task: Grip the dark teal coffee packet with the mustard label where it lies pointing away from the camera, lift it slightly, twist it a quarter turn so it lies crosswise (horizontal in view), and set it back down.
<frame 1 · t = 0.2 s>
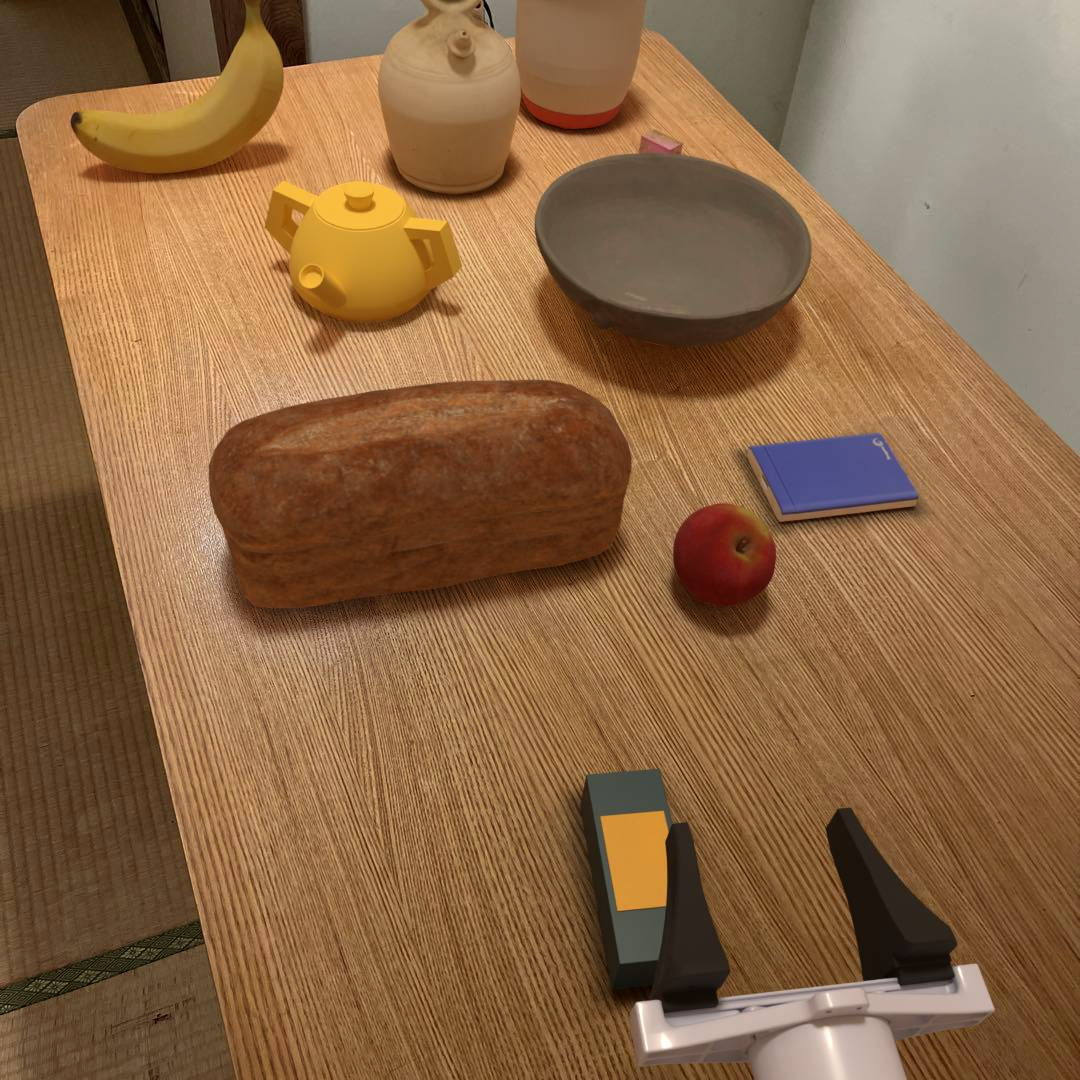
hand: (758, 824, 49), 20 cm above the table, tool horizontal, fingers open, 7 cm apart
citrus juicer: (566, 107, 136), on the table
teapot: (356, 300, 106), on the table
perfume bottle: (675, 186, 125), on the table
bread: (426, 542, 86), on the table
banana: (191, 167, 121), on the table
apple: (713, 590, 84), on the table
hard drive: (828, 483, 93), on the table
jug: (449, 169, 124), on the table
bowl: (658, 312, 109), on the table
packet: (651, 985, 63), on the table
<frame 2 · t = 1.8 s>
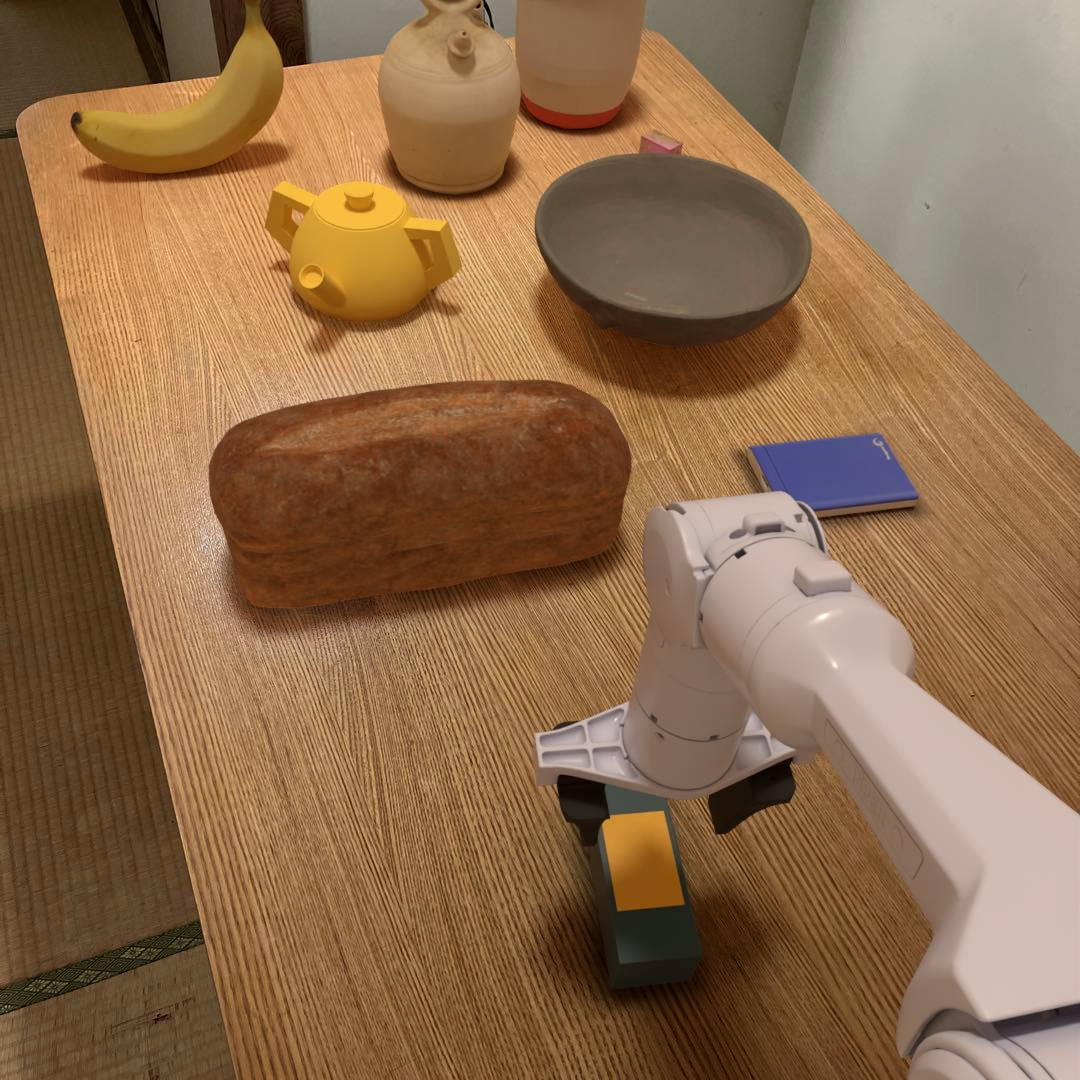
hand: (652, 824, 61), 8 cm above the table, tool pointing down, fingers open, 7 cm apart
nothing on the table moved.
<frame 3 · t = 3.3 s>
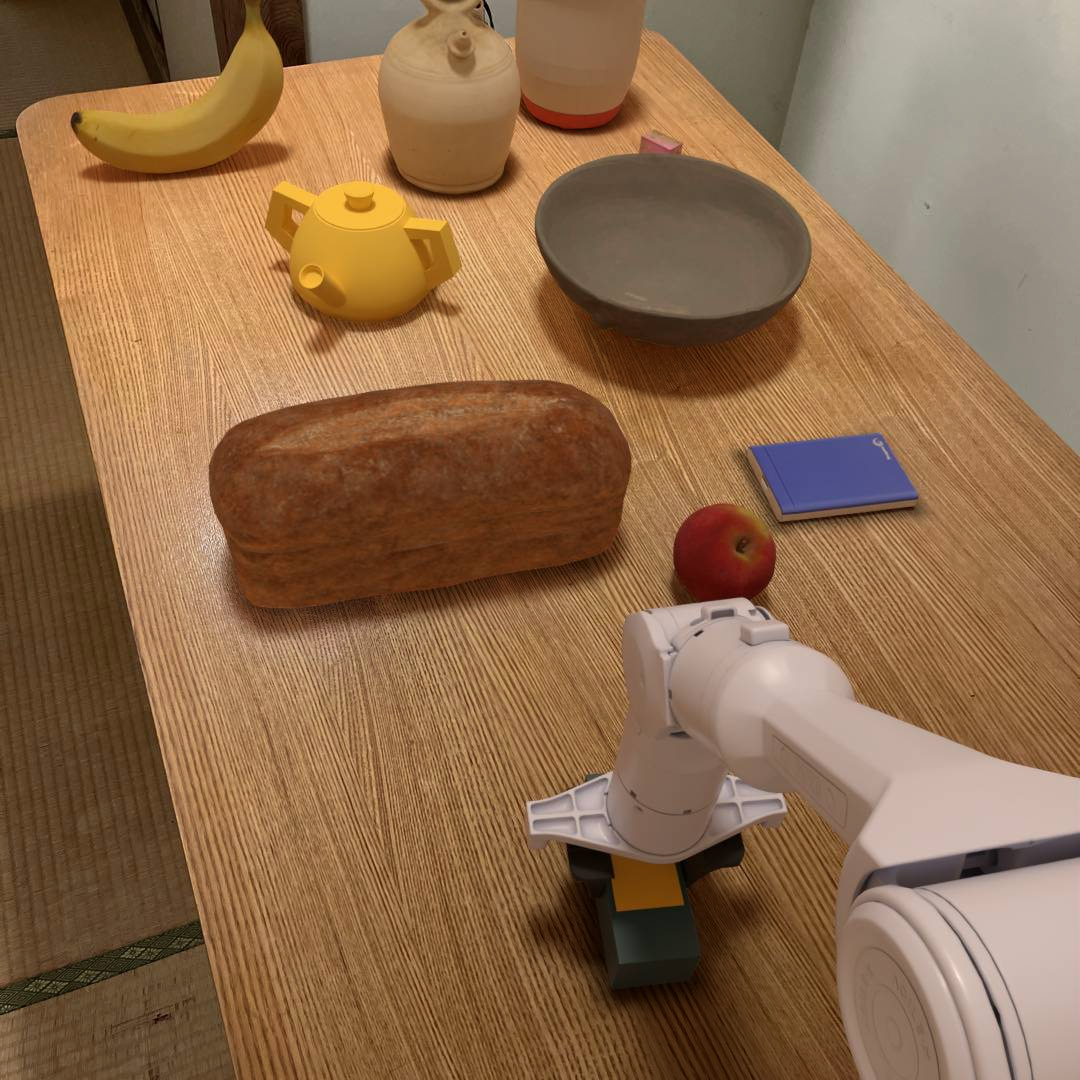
hand: (635, 878, 66), 1 cm above the table, tool pointing down, fingers closed on packet, 5 cm apart
packet: (650, 985, 63), on the table, touching gripper
everything else where it was.
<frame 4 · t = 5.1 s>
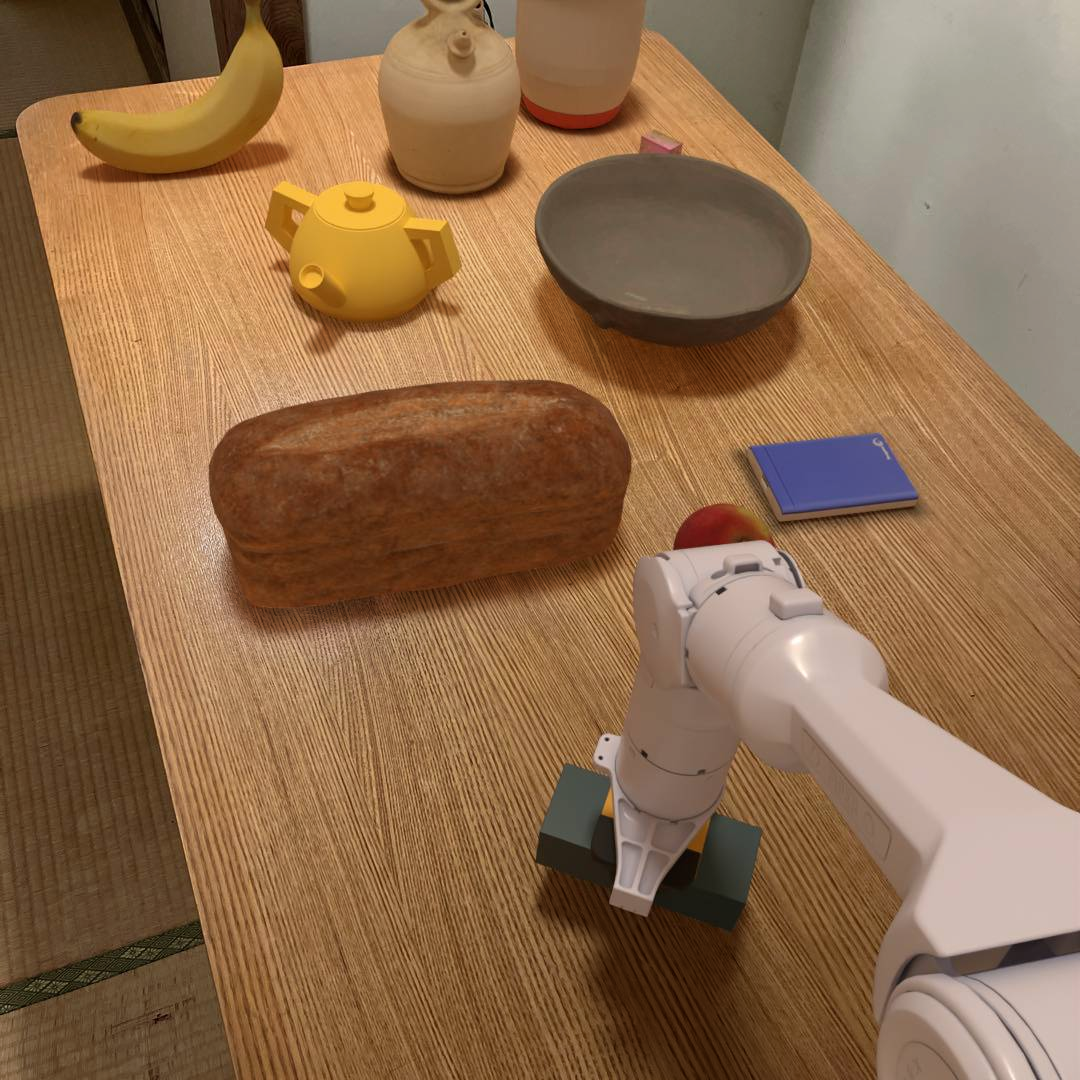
hand: (644, 849, 63), 5 cm above the table, tool pointing down, fingers closed on packet, 5 cm apart
packet: (740, 895, 63), point 4 cm above the table, touching gripper
everything else where it was.
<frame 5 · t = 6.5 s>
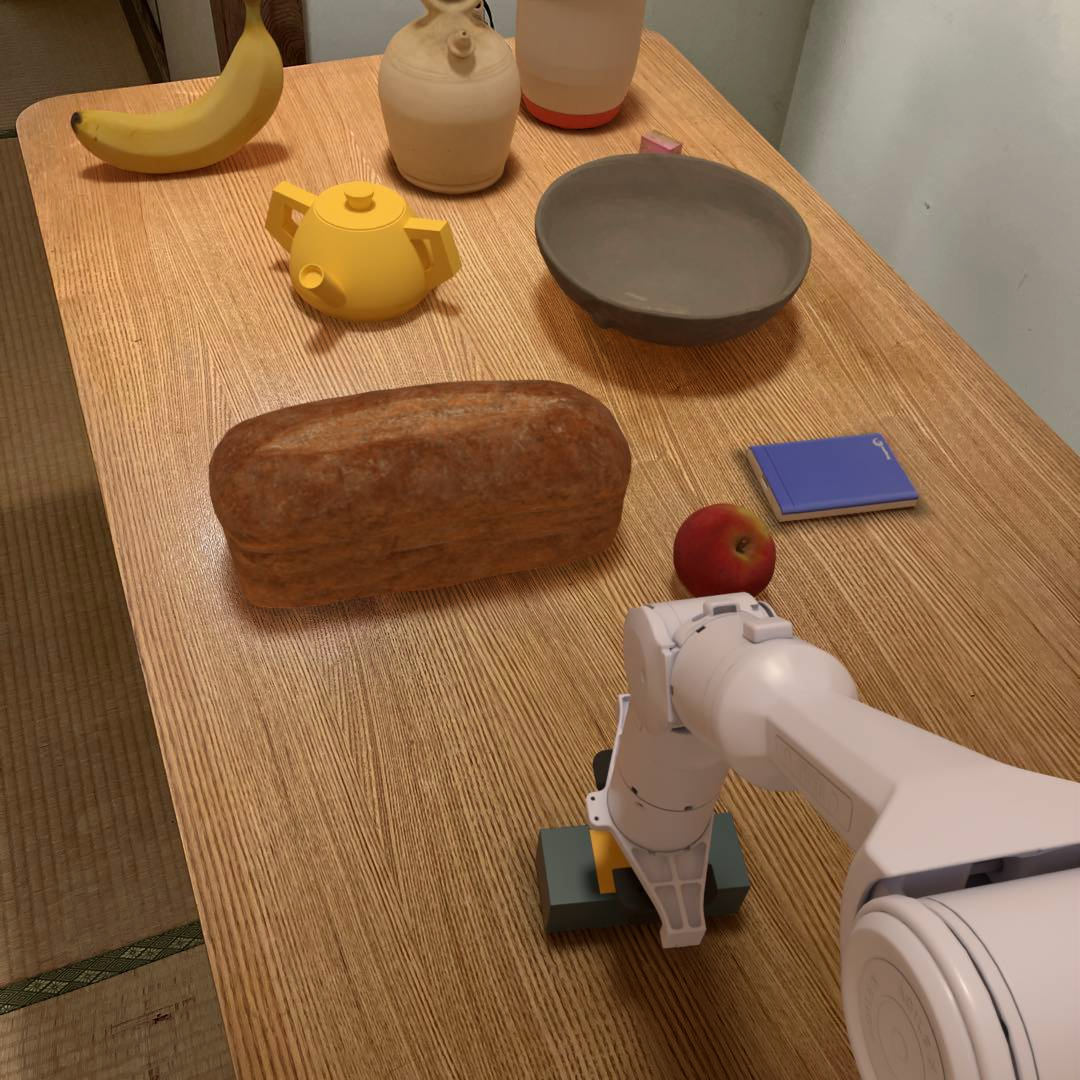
hand: (636, 875, 66), 2 cm above the table, tool pointing down, fingers closed on packet, 5 cm apart
packet: (728, 876, 68), on the table, touching gripper
everything else where it was.
when the fingers open (1 cm above the table, at t = 7.1 s): packet stays where it is, on the table.
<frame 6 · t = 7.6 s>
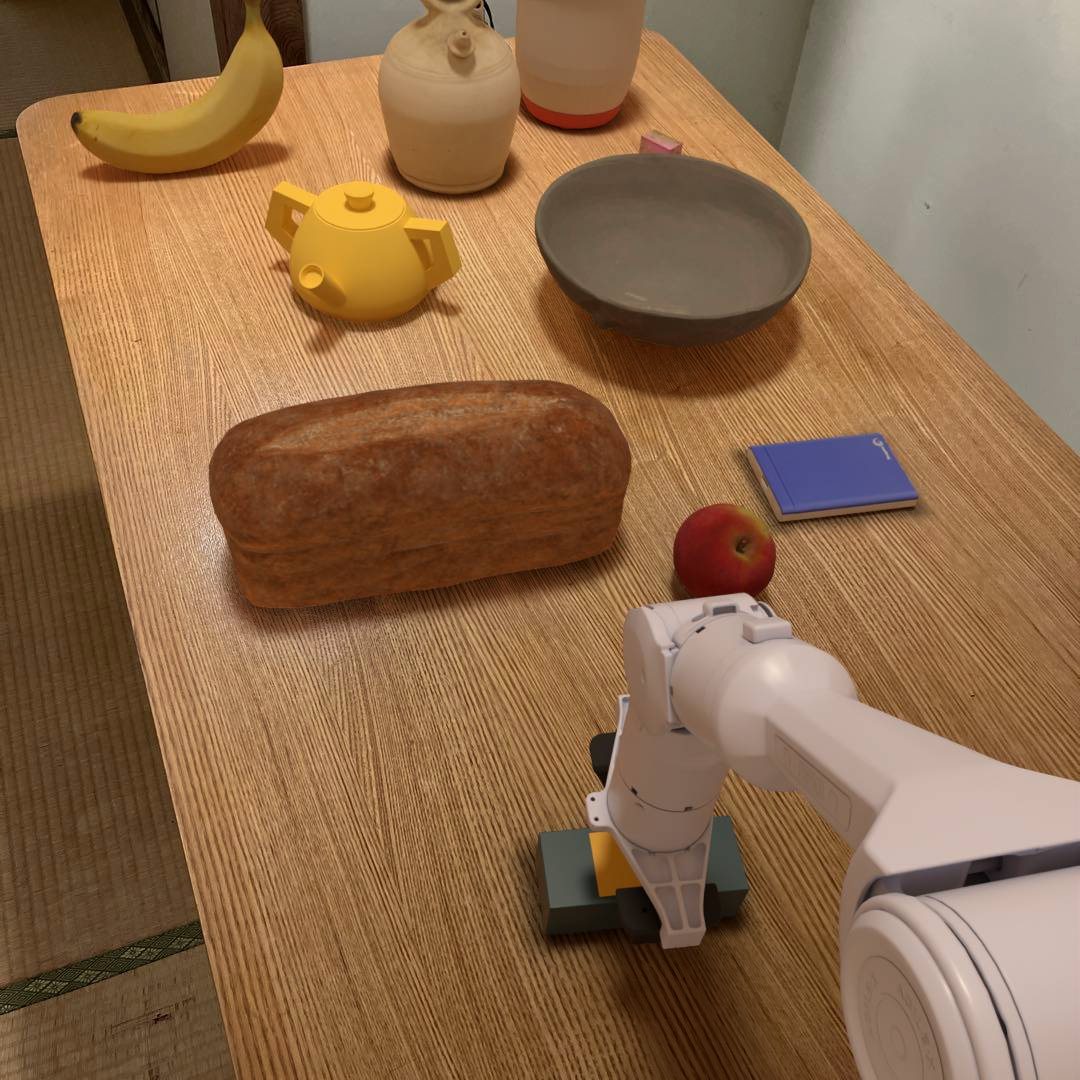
hand: (636, 876, 66), 2 cm above the table, tool pointing down, fingers open, 7 cm apart
packet: (726, 879, 68), on the table
everything else where it was.
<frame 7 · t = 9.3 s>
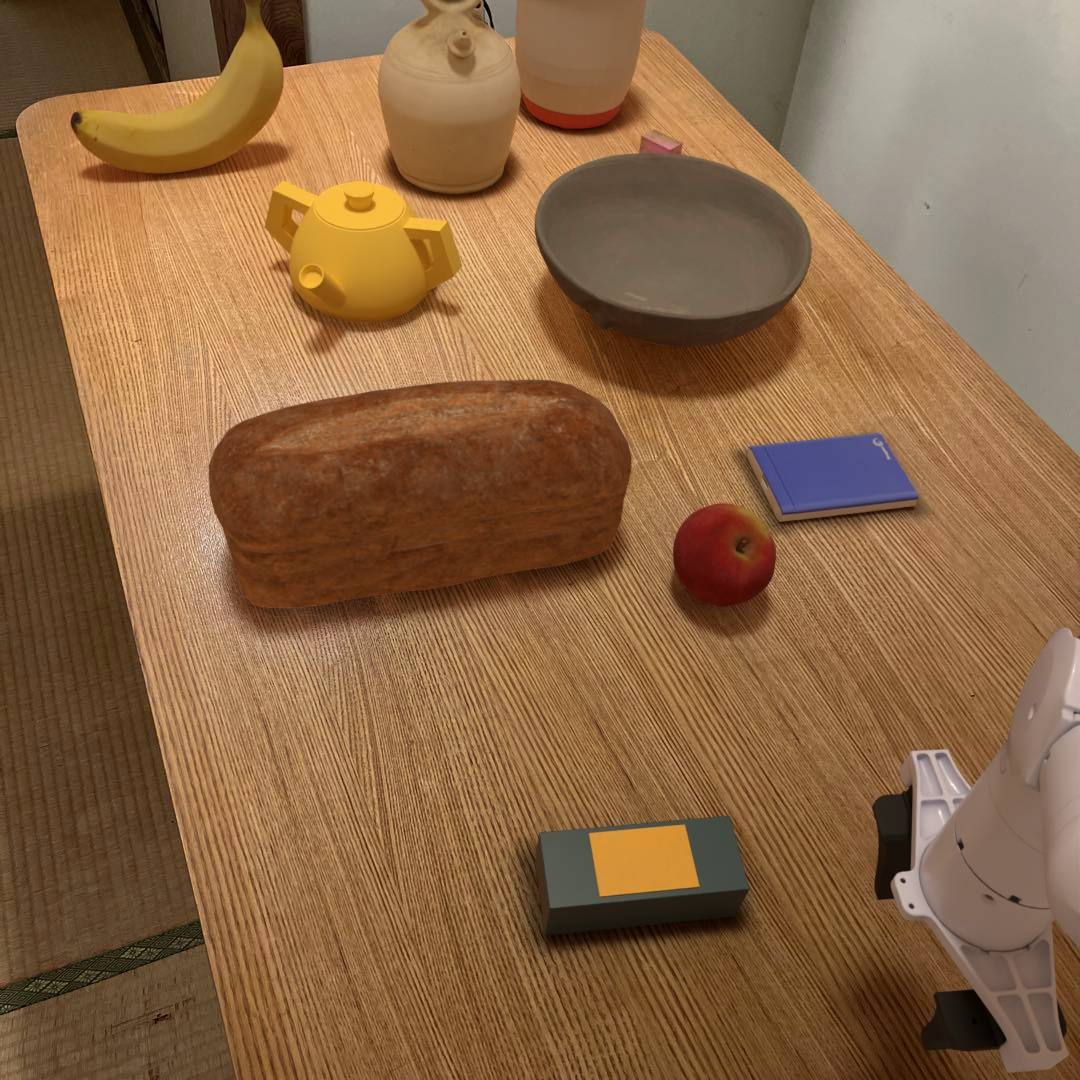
hand: (916, 964, 56), 9 cm above the table, tool pointing down, fingers open, 7 cm apart
nothing on the table moved.
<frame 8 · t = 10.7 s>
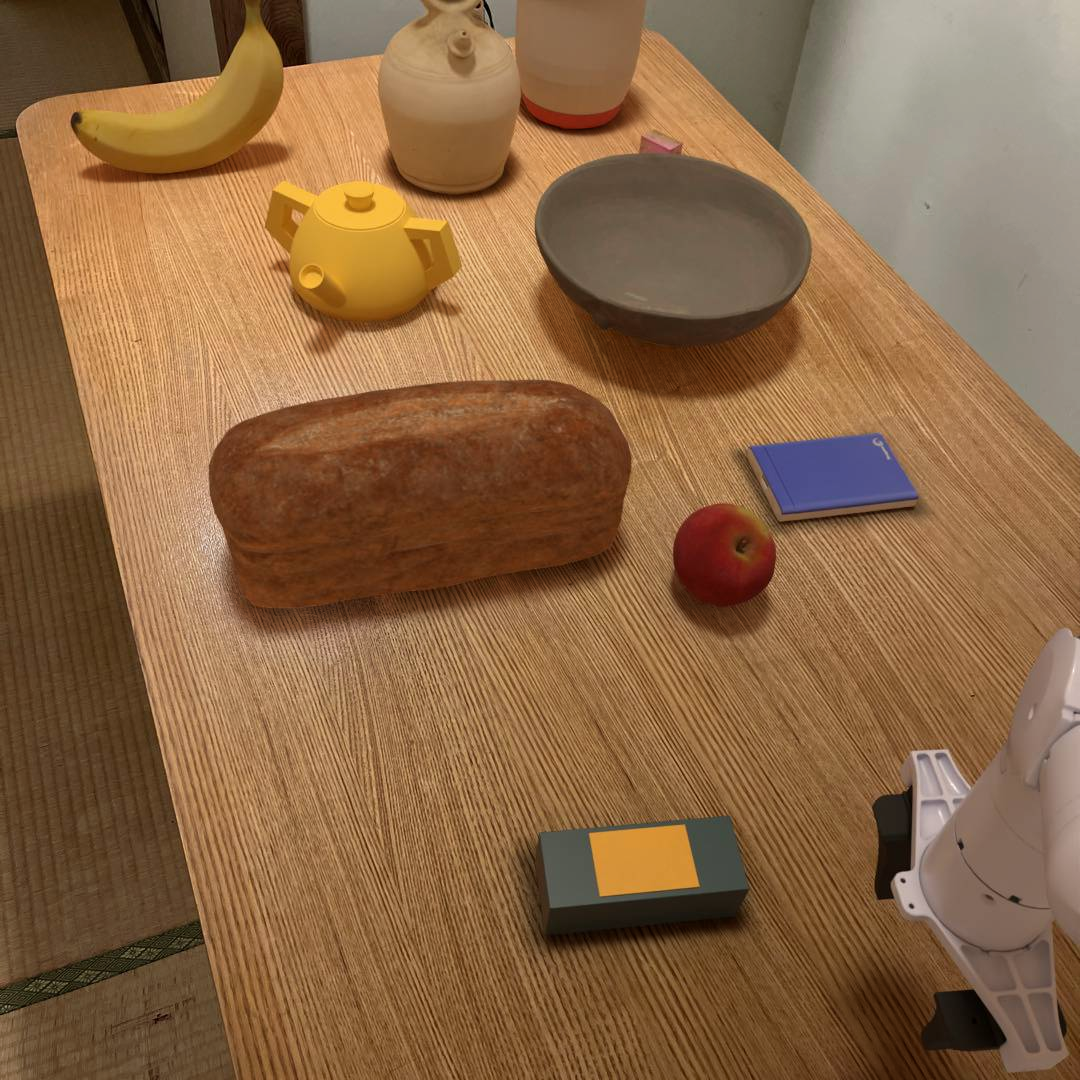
hand: (916, 964, 56), 9 cm above the table, tool pointing down, fingers open, 7 cm apart
nothing on the table moved.
at the end: packet 0.1 cm from the target spot, on the table; packet tilted 0°; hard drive moved 0.2 cm from its start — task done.
